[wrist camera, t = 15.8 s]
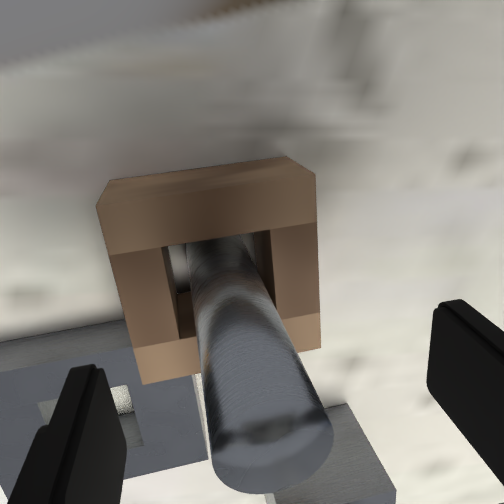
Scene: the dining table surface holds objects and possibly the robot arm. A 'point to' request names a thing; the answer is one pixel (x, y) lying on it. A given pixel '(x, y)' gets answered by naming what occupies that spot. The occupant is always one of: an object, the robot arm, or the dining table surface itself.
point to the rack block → (203, 228)
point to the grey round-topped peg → (252, 376)
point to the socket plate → (118, 373)
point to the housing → (343, 470)
